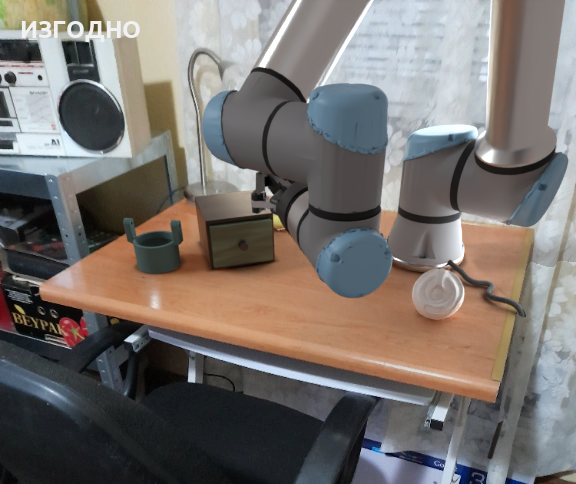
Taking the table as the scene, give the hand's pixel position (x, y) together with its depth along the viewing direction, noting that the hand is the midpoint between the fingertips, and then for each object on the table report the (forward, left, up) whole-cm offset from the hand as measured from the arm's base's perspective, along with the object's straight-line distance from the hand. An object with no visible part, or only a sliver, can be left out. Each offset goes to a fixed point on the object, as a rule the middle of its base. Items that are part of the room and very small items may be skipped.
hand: (267, 164), depth 83 cm
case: (+16, -1, -21) cm, 26 cm away
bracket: (+19, +14, -21) cm, 32 cm away
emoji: (+24, -17, -21) cm, 36 cm away
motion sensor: (-24, -17, -21) cm, 36 cm away
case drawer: (+14, 0, -20) cm, 24 cm away
